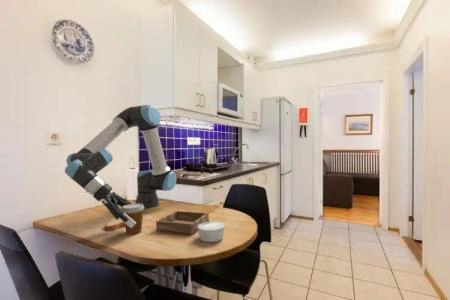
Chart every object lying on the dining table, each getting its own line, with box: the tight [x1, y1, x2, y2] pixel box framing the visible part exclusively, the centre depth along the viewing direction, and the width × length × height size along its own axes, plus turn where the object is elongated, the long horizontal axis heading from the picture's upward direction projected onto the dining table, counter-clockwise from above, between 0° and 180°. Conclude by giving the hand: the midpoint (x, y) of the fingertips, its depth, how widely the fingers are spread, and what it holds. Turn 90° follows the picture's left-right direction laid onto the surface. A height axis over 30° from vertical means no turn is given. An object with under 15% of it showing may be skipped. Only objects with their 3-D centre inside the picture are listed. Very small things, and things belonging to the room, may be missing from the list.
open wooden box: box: [155, 210, 210, 236], centre depth 114 cm, size 18×18×4 cm
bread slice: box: [104, 217, 125, 232], centre depth 121 cm, size 18×18×4 cm
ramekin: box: [197, 221, 226, 243], centre depth 98 cm, size 11×11×5 cm
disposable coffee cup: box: [121, 203, 145, 236], centre depth 107 cm, size 10×10×12 cm
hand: (136, 220), depth 107 cm, fingers open, 13 cm apart
